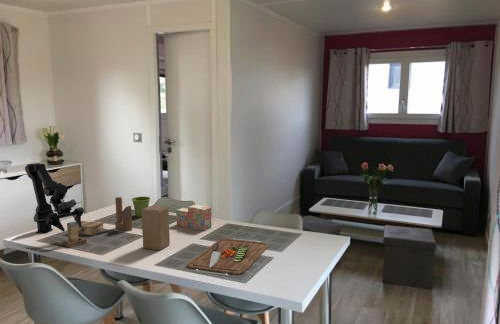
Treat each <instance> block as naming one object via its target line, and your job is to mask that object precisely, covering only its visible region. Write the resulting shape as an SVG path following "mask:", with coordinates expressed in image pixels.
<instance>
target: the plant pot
mask: <svg viewBox="0 0 500 324" xmlns="http://www.w3.org/2000/svg"><path fill="white" fill-rule="evenodd" d="M150 200H151V196H145V195H144V196H136V197H135V196H134V197H132V198H131V201H132V204H133V209H134V213H135V217H137V218H142V209H145V208H147V207H149V205H150Z"/></svg>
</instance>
